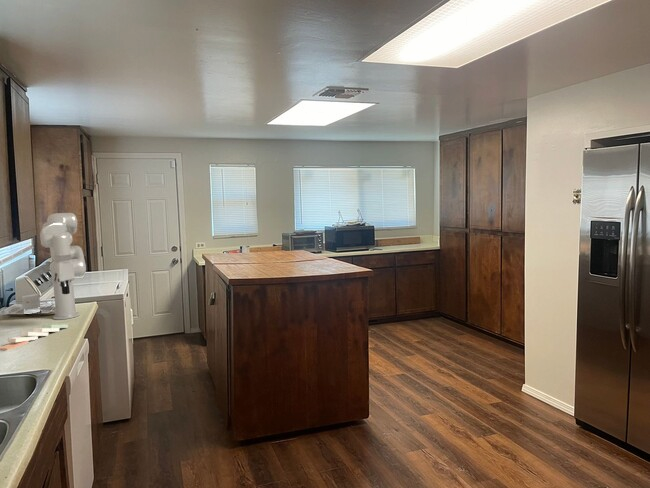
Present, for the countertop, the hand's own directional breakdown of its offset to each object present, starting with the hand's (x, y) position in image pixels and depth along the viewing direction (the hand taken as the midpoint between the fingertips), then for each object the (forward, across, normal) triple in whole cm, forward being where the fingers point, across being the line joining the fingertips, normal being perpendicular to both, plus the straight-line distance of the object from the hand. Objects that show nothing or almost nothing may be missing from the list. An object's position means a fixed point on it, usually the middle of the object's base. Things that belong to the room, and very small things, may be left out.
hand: (66, 293), depth 247 cm
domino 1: (+15, +28, +2) cm, 32 cm away
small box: (+19, -18, -43) cm, 50 cm away
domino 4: (+15, +10, +1) cm, 19 cm away
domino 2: (+15, +23, +1) cm, 28 cm away
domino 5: (+16, +4, +1) cm, 16 cm away
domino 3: (+15, +17, +2) cm, 23 cm away
